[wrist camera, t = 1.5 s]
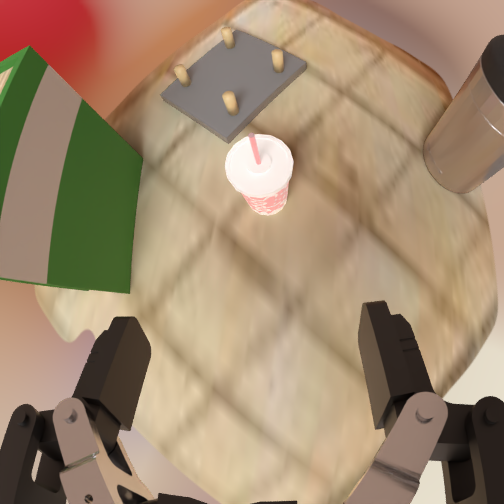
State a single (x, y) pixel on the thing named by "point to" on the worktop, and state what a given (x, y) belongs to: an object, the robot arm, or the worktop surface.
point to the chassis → (232, 83)
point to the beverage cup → (261, 171)
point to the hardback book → (62, 184)
